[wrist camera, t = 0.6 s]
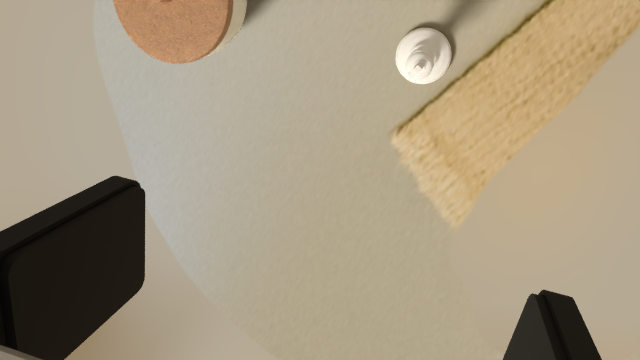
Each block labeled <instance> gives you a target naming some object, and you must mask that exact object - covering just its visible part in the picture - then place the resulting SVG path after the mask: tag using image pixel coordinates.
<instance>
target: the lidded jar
mask: <svg viewBox="0 0 640 360" xmlns="http://www.w3.org/2000/svg"><path fill="white" fill-rule="evenodd" d="M113 2H114V5H115V9H116V12H117V15H118V17H119V20H120V22H121V24H122V26H123V28H124V29H125V31H126V33H127V34H128V35H129V37H130V38H131V39H132V41H133V42H134V43H135V44H136V45H137V46H138V47H139V48H140V49H142V50H143V51H144V52H145V53H147V54H149V55H150V56H152V57H154V58H156V59H158V60H161V61H164V62H168V63H179V64H181V63H187V62H193V61H196V60H199V59H201V58H204V57H207V56H210V55H212V54H214V53H216V52H218V51H220V50H221V49H223V48H224V47H225V46H227V45H228V44H229V43H230V42H231V41H232V40H233V39H234V38H235V36H236V35H237V34H238V32H239V30H240V29H241V26H242V24H243V21H244V18H245V14H246V7H247V0H113Z"/></svg>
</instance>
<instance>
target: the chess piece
mask: <svg viewBox="0 0 640 360" xmlns="http://www.w3.org/2000/svg"><path fill="white" fill-rule="evenodd" d="M451 57H452V52H451V46H450V44H449V42H448V40H447V38H446V37H445V36H444V35H443V34H442V33H441V32H439V31H437V30H435V29H432V28H418V29H415V30H413V31H411V32H409V33H408V34H407V35H405V36H404V37H403V39H402V40H401V41H400V43H399V45H398V47H397V51H396V64H397V67H398V70H399V71H400V73H401V74H402V75H403V76H404V77H405V78H406V79H407V80H409V81H411V82H413V83H417V84H427V83H431V82H434V81H436V80H437V79H439V78H440V77H441V76H442V75H443V74H444V73H445V72H446V71H447V69H448V67H449V65H450V62H451Z"/></svg>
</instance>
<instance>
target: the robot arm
mask: <svg viewBox="0 0 640 360" xmlns="http://www.w3.org/2000/svg"><path fill="white" fill-rule="evenodd" d="M144 277H145V192H144V190H143V189H142V188H141V186H140V184H139V183H138V182H137V181H134V180H131V179H127V178H122V177H119V176H112V177H110V178H108V179H106V180H104V181H102V182H100V183H98V184H96V185H94V186H92V187H90V188H88V189H86V190H84V191H82V192H80V193H78V194H76V195H73V196H72V197H69V198H67V199H65V200H63V201H61V202H59V203H57V204H55V205H54V206H51V207H49V208H47V209H45V210H43V211H41V212H39V213H37V214H35V215H33V216H31V217H29V218H27V219H25V220H23V221H21V222H19V223H17V224H15V225H13V226H11V227H9V228H7V229H5V230H3V231H1V232H0V360H64V359H65V358H66V357H67V356H69V355H70V354H71V352H73V351H74V350H75V349H76V348H77V347H78V346H79V345H81V344H82V343H83V342H84V341H85V340H86V339H87V338H88V337H89V336H90V335H91V334H93V333H94V332H95V331H96V330H97V329H98V328H99V327H100V326H101V325H102V324H103V323H105V322H106V321H107V320H108V319H109V318H110V317H111V316H112V315H113V314H114V313H116V312H117V311H118V310H119V309H120V308H121V307H122V306H123V305H124V304H125V303H126V302H128V301H129V300H130V299H131V298H132V297H133V296H134V295H135V294H136V293H137V292H138V291H139V290H140V289H141V287H142V285H143V282H144ZM503 360H602V359H601V357H600V355H599V353H598V351H597V348H596V346H595V344H594V342H593V340H592V338H591V335H590V333H589V331H588V329H587V327H586V325H585V322H584V321H583V318H582V316H581V314H580V312H579V310H578V307H577V305H576V303H575V301H574V299H573V298H572V297H569V296H566V295H561V294H558V293H554V292H550V291H546V290H542V291H541V292H540V293H539V294H538V295H536V294H531V295H530V296H529V298H528V299H527V302H526V304H525V307H524V309H523V312H522V314H521V316H520V319H519V321H518V324H517V326H516V328H515V331H514V333H513V336H512V338H511V341H510V343H509V346H508V348H507V350H506V353H505V355H504V358H503Z"/></svg>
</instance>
